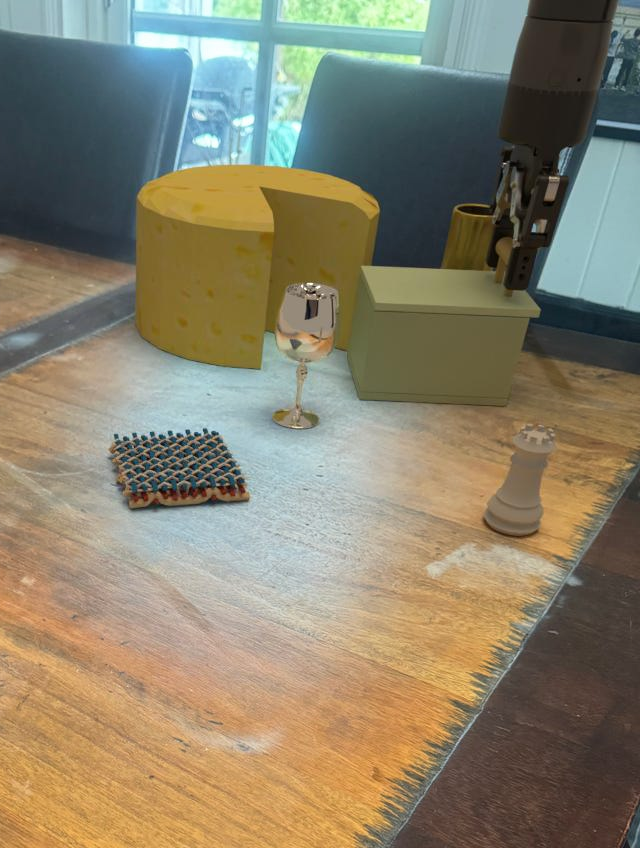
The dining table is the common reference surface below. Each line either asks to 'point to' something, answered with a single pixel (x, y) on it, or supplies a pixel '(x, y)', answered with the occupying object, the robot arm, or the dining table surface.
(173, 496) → the woven mat
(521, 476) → the rook chess piece
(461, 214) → the vase
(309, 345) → the wineglass
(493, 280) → the lid
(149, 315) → the cheese
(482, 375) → the chest
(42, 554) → the dining table surface
